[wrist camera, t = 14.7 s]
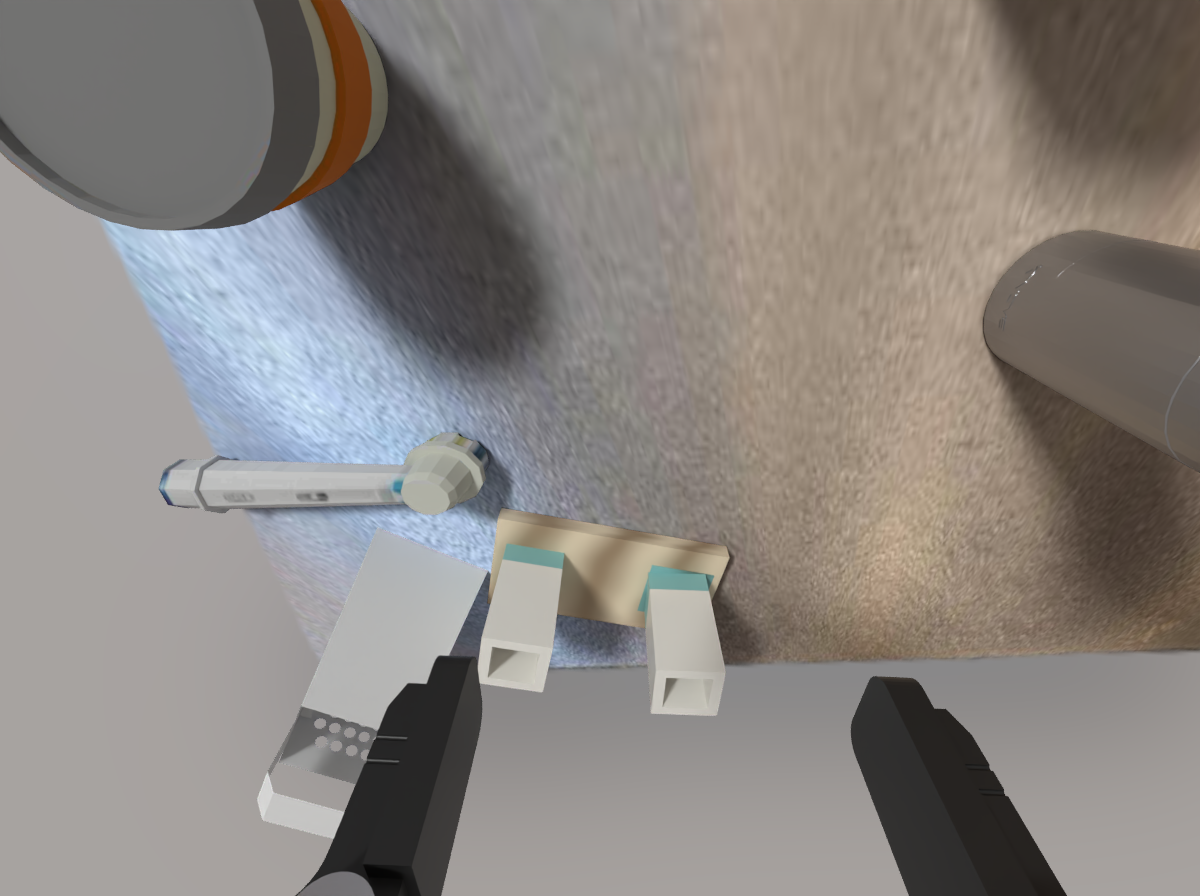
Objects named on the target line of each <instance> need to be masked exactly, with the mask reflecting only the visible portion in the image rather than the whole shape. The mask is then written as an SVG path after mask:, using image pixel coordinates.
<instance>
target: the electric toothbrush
mask: <svg viewBox="0 0 1200 896" xmlns="http://www.w3.org/2000/svg"><path fill="white" fill-rule="evenodd" d="M488 465H489V461H488V456H487V452H486V450H485V449H484V448H483V447H482V446H481V445H480V444H479V443H478V442H477V441H476V440H474V441H471V440H469V439H466V438H464V437H461V436H459V433H440V434H439V435H438V436H436V437H434V438H432V439H430V440H427V441H426V442H425V443H423V444H421V445H419V446H417V447H415V448H413V449H412V450H411V451H410V452H409V453H408V455H407V458H406V460H405V462H404V465H381V464H346V463H310V462H274V461H239V460H232V459H229V458H225V457H222V456H218V455H214V456H213V457H212V458H210V459H208V460H178V461H177V462H175V463H174V464H172V465H170V466H169V467H167V468H166V469H164V470H163V475H162V478H161V482H160V486H159V490H160V492H161V493H162V495H163V497H164V499H165V500H166V502H167V504H168V505H172V506H178V507H184V508H201V510H205V511H211V512H217V513H226V512H227V511H228V510H229V509H238V508H239V509H241V508H281V507H320V506H359V505H398V504H407V505H408V506H409V507H410V508H411V509H412V510H414V511H417V512H420V513H422V514H427V515H437V514H439V513H442V512H444V511H446V510H448V509H451V508H453V507H454V506H455V505H456V504H457V503H462V502H464V501H467V500H469V499H471V498H473V497H476V495H477V494H478V492H479V490H480V489H481V487H482V485H483V483H484V481H485V480H486V477H485V471H486V469H487V467H488Z"/></svg>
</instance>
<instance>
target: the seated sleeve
mask: <svg viewBox="0 0 1200 896" xmlns="http://www.w3.org/2000/svg"><path fill="white" fill-rule="evenodd" d="M563 560H564V553H561V552H555V551H549V550H543V549H537V548H531V547H525V546H519V545H513V544H506V548H505V552H504V556H503V559H502V563H501V567H500V570H499V574H498V578H497V582H496V585H495V589H494V593H493V597H492V600H491V604H490V608H489V612H488V615H487V619H486V623H485V627H484V630H483V634H482V638H481V646H480V654H479V662H478V674H479V682H480V684H487V685H493V686H500V687H507V688H514V689H520V690H527V691H534V692H541V693H543V689H544V685H545V680H546V676H547V672H548V667H549V663H550V658H551V654H552V650H553V642H554V634H555V626H556V618H557V610H558V601H559V593H560V585H561V577H562V568H563Z"/></svg>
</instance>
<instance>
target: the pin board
mask: <svg viewBox="0 0 1200 896" xmlns="http://www.w3.org/2000/svg"><path fill="white" fill-rule="evenodd" d="M506 544H513V545H519V546H525V547H531V548H537V549H543V550H549V551H555V552H561V553H564V560H563V568H562V577H561V585H560V593H559V601H558V610H557V614H558V615H564V616H571V617H577V618H583V619H590V620H596V621H602V622H609V623H615V624H621V625H628V626H634V627H640V628H645V602H646V592H647V581H648V572H654V573H682V574H705V575H706V580H707V584H708V589H709V594H710V599H711V601H712V599H713V596H714V594H715V591H716V589H717V587H718V584H719V582H720V579H721V577H722V575H723V572H724V570H725V568H726V565H727V563H728V560H729V554H728V550H727V547H726V546H721V545H715V544H710V543H704V542H698V541H692V540H686V539H680V538H675V537H669V536H663V535H657V534H651V533H645V532H640V531H634V530H628V529H622V528H616V527H610V526H605V525H599V524H593V523H587V522H581V521H575V520H570V519H564V518H558V517H552V516H546V515H541V514H535V513H529V512H523V511H517V510H511V509H506V508H501V510H500V514H499V517H498V523H497V530H496V538H495V546H494V554H493V562H492V570H491V578H490V585H489V593H488V601H487V603H488V604H491V600H492V597H493V593H494V589H495V585H496V582H497V578H498V574H499V570H500V567H501V563H502V559H503V556H504V552H505V548H506Z"/></svg>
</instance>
